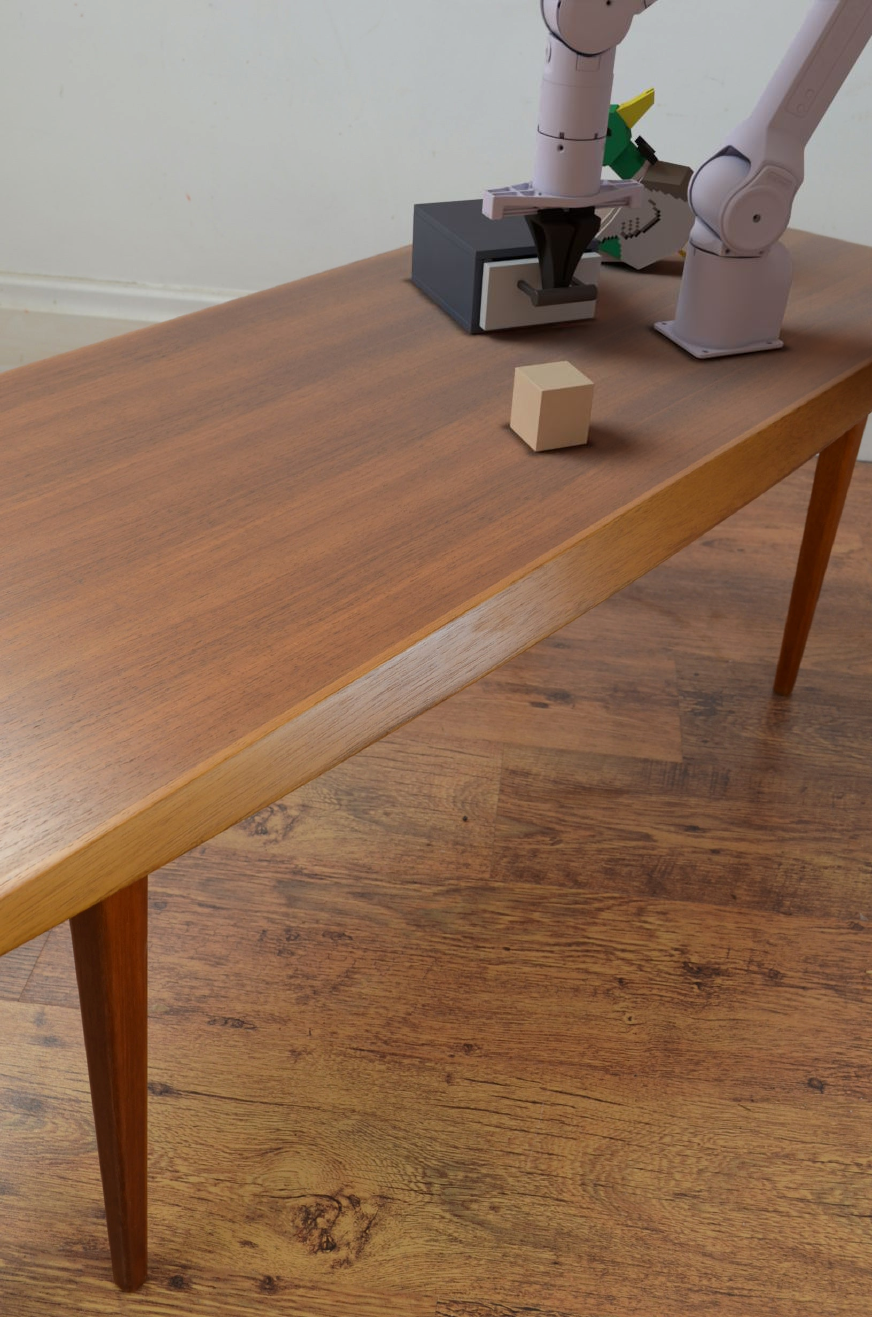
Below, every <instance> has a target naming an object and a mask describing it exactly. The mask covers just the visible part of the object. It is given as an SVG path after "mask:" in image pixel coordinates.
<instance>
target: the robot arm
mask: <svg viewBox="0 0 872 1317" xmlns="http://www.w3.org/2000/svg"><path fill="white" fill-rule="evenodd" d="M656 2H658V0H539V9H540V15H541V20H542V22H543V24H544V26H545V29H547V31H548V33H547V35H546V36H547V37H546V47H545V57H544V66H543V67H542V74H541V85H540V95H539V104H538V105H539V107H538V117H537V118H538V119H537V128H536V129H537V130H536V138H535V139H536V140H535V151H534V161H533V170H532V171H533V172H532V180H530V181H527V182H522V183H521V182H520V183H517V184H512V185H508V186H504V187H499V188H492V189H491V188H490V189H484V190H483V192H482V193H483V194H482V199H483V207H482V213H483V214H484V215H485V216H486V217H488V218H490V219H491V220H500V219H502V218H503V217H505V216H517V215H524V218H525V220H526V223H527V225H528V227H529V230H530V233H531V235H532V238H533V241H534V244H535V248H536V252H537V256H538V261H539V266H540V272H541V281H542V290H543V289H552V288H561V287H569V285H570V282H571V280H572V277H573V275H574V272H575V270H576V268H577V265H578V263H579V261H580V259H581V257H582V255H583V254H584V252H585V250H586V248H587V247H588V245H589V244H590V242H591V241H592V239H593V238H594V237H595V235H596V234H597V233H598V232H599V230H600V226H601V221H602V218H601V216H599V215H598V214H596V210H602V209H603V210H604V209H613V208H616V207H629V208H631V209H636V208H641V206H642V200H643V193H644V185H643V184H641V183H639V182H637V181H635V180H633V179H631V180H622V179H605V178H604V179H603V178H602V171H603V166H602V165H603V157H604V149H605V141H606V133H607V125H608V117H609V109H610V104H611V100H612V94H613V93H612V92H613V85H614V77H615V74H614V69H615V60H616V54H617V46H618V45H620V44H622V42H623V41H624V39H625V38H626V37H627V35H628V33H629V31H630V29H631V25H632V24H633V20H634V16H636V15H641V14H642V13H643V12H645V10H647V9H648V8H650V7H651V6H652V5H654V4H655V3H656ZM871 38H872V0H814V1H813V4H812V5H811V7H810V9H809V10H808V12H807V14H806V15H805V18H804V19H803V21H802V23H801V25H800V26H799V28H798V30H797V32H796V34H795V35H794V37H793V39H792V40H791V42H790V44H789V45H788V48H787V49H786V51H785V53H784V55H783V56H782V58H781V60H780V62H779V64H778V66H777V67H776V69H775V71H774V73H773V74H772V76H771V78H770V80H769V81H768V83H767V84H766V87H765V88H764V90H763V92H762V93H761V96H760V97H759V99H758V101H757V102H756V104H755V106H754V108H753V110H752V111H751V113H750V115H749V116H748V117H747V118H746V119H744V120H743V121H742V122H739V124H737V125H736V126H734V127H733V128H732V129H731V130H729V131H728V132H727V133H725V136H724V137H723V139H722V141H721V142H720V144H719V146H718V147H717V148H716V150H715V151H714V152H713V153H712V154H710V155H709V156H707V157H706V158H705V159H704V160H703V161H702V162H701V163H699V164H698V166H697V167H696V168H695V170H693V171H694V173H693V175H692V177H691V179H690V182H689V186H688V194H687V195H688V202H689V206H690V208H691V210H692V212H693V213H694V215H695V216H696V219H695V224H694V226H693V228H692V230H691V232H690V236H689V240H688V241H687V242H688V243H687V247H686V252H685V253H686V259H684V265H683V271H682V276H681V282H680V286H679V287H680V288H679V292H678V297H677V298H678V299H677V305H676V309H675V316H674V319H673V320H666V321H665V320H664V321H657V322H655V323H654V325H653V328H654V329H655V330H656V331H658V332H659V333H661V334H662V335H664V336H665V337H666V338H668V339H669V340H670V341H672V342H674V343H675V344H677V345H678V346H679V347H681V348H682V349H683V350H685V351H687V352H688V353H689V354H691V355H693V357H696V358H697V359H708V358H716V357H723V356H730V355H739V354H747V353H753V352H760V351H767V350H773V349H774V350H775V349H781V348H783V346H784V341H783V340H781V339H780V334H781V330H782V325H783V321H784V318H785V312H786V308H787V305H788V300H789V295H790V292H791V287H792V283H793V278H794V277H793V276H794V274H793V273H794V266H793V260H792V256H791V255H792V254H791V252H790V251H789V249H788V248H787V246H786V245H785V244H784V243H783V242H781V241H780V239H781V238H782V236H783V235H784V234H785V232H786V230H787V228H788V226H789V224H790V220H791V217H792V210H793V204H794V201H795V197H796V195H797V194H798V191H799V189H800V188H801V186H802V185H803V183H804V180H805V149H806V147H807V145H808V143H809V141H810V139H811V138H812V136H813V134H814V133H815V131H816V129H817V128H818V126H819V124H820V123H821V121H822V119H823V118H824V116H825V114H826V113H827V111H828V109H829V107H830V106H831V104H832V102H833V101H834V100H835V98H836V96H837V94H838V93H839V91H840V89H841V88H842V87H843V84H844V83H845V81H846V79H847V78H848V76H849V74H850V73H851V72H852V69H853V67H854V66H855V64H856V63H857V61H858V60H859V58H860V56H861V54H862V53H863V51H864V49H865V48H866V46H867V44H868V43H869V41H870V39H871Z"/></svg>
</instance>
